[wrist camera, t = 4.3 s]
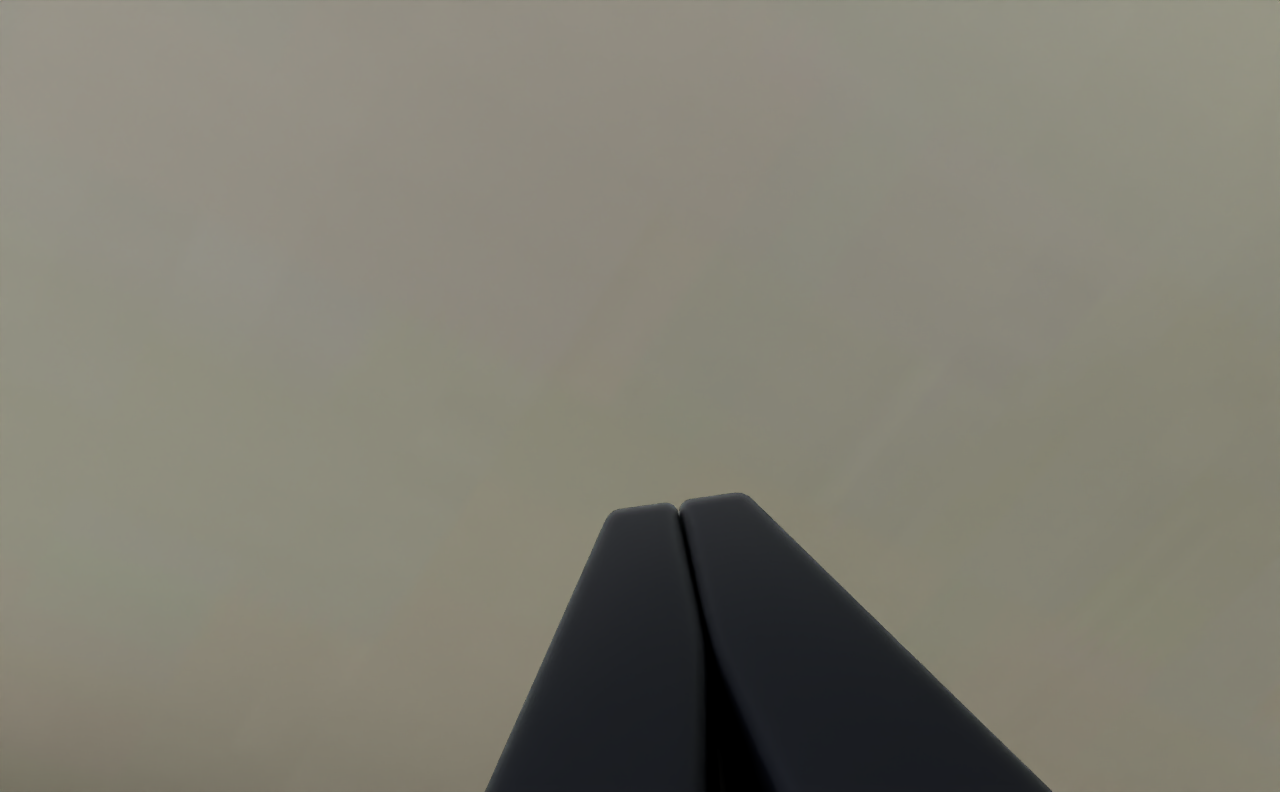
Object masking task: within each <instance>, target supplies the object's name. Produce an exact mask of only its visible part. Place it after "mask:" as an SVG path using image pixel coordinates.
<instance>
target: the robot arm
mask: <svg viewBox="0 0 1280 792" xmlns="http://www.w3.org/2000/svg"><path fill="white" fill-rule="evenodd" d="M485 792H1052V791H1051V790H1050V789H1049V788H1048V787H1047V786H1046V785H1045V784H1044V783H1043V782H1042V781H1041V780H1040V779H1039V778H1038V777H1037V776H1036V775H1035V774H1034V773H1033V772H1032V771H1031V770H1030V769H1029V768H1028V767H1027V766H1026V765H1025V764H1024V763H1023V762H1021V761H1020V760H1019V759H1018V758H1017V757H1016V756H1015V755H1014V754H1013V753H1012V752H1011V751H1010V750H1009V749H1008V748H1007V747H1006V746H1005V745H1004V744H1003V743H1002V742H1001V741H1000V740H999V739H998V738H997V737H996V736H995V735H994V734H993V733H992V732H991V731H990V730H989V729H988V728H987V727H986V726H985V725H983V724H982V723H981V722H980V721H979V720H978V719H977V718H976V717H975V716H974V715H973V714H972V713H971V712H970V711H969V710H968V709H967V708H966V707H965V706H964V705H963V704H962V703H961V702H960V701H959V700H958V699H957V698H956V697H955V696H954V695H953V694H952V693H951V692H950V691H949V690H948V689H947V688H945V687H944V686H943V685H942V684H941V683H940V682H939V681H938V680H937V679H936V678H935V677H934V676H933V675H932V674H931V673H930V672H929V671H928V670H927V669H926V668H925V667H924V666H923V665H922V664H921V663H920V662H919V661H918V660H917V659H916V658H915V657H914V656H913V655H912V654H911V653H910V652H909V651H908V650H906V649H905V648H904V647H903V646H902V645H901V644H900V643H899V642H898V641H897V640H896V639H895V638H894V637H893V636H892V635H891V634H890V633H889V632H888V631H887V630H886V629H885V628H884V627H883V626H882V625H881V624H880V623H879V622H878V621H877V620H876V619H875V618H874V617H873V616H872V615H871V614H870V613H868V612H867V611H866V610H865V609H864V608H863V607H862V606H861V605H860V604H859V603H858V602H857V601H856V600H855V599H854V598H853V597H852V596H851V595H850V594H849V593H848V592H847V591H846V590H845V589H844V588H843V587H842V586H841V585H840V584H839V583H838V582H837V581H836V580H835V579H834V578H833V577H832V576H830V575H829V574H828V573H827V572H826V571H825V570H824V569H823V568H822V567H821V566H820V565H819V564H818V563H817V562H816V561H815V560H814V559H813V558H812V557H811V556H810V555H809V554H808V553H807V552H806V551H805V550H804V549H803V548H802V547H801V546H800V545H799V544H798V543H797V542H796V541H795V540H794V539H793V538H791V537H790V536H789V535H788V534H787V533H786V532H785V531H784V530H783V529H782V528H781V527H780V526H779V525H778V524H777V523H776V522H775V521H774V520H773V519H772V518H771V517H770V516H769V515H768V514H767V513H766V512H765V511H764V510H763V509H762V508H761V507H760V506H759V505H758V504H757V503H756V502H755V501H753V500H752V499H751V498H750V497H749V496H747V495H745V494H743V493H729V494H722V495H715V496H708V497H701V498H694V499H689V500H686V501H685V502H683V503H682V504H681V507H680V509H679V513H678V510H677V509H676V508H675V506H674V505H672V504H670V503H659V504H651V505H644V506H637V507H630V508H623V509H618V510H615V511H613V512H612V513H610V514H609V516H608V517H607V519H606V520H605V522H604V524H603V527H602V529H601V531H600V533H599V536H598V538H597V540H596V542H595V545H594V547H593V549H592V551H591V554H590V556H589V558H588V560H587V563H586V565H585V567H584V569H583V572H582V574H581V576H580V578H579V581H578V583H577V585H576V588H575V590H574V592H573V594H572V597H571V599H570V601H569V603H568V606H567V608H566V610H565V612H564V615H563V617H562V619H561V621H560V624H559V626H558V628H557V630H556V633H555V635H554V637H553V639H552V642H551V644H550V646H549V648H548V651H547V653H546V655H545V657H544V660H543V662H542V664H541V666H540V669H539V671H538V673H537V675H536V678H535V680H534V682H533V684H532V687H531V689H530V691H529V693H528V696H527V698H526V700H525V702H524V705H523V707H522V709H521V711H520V714H519V716H518V718H517V720H516V723H515V725H514V727H513V729H512V732H511V734H510V736H509V738H508V741H507V743H506V745H505V748H504V750H503V752H502V754H501V757H500V759H499V761H498V763H497V766H496V768H495V770H494V772H493V775H492V777H491V779H490V781H489V784H488V786H487V788H486V790H485Z"/></svg>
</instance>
